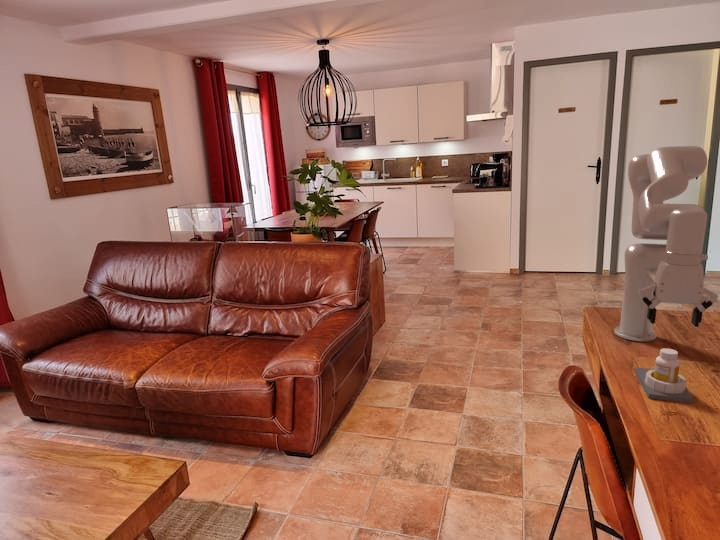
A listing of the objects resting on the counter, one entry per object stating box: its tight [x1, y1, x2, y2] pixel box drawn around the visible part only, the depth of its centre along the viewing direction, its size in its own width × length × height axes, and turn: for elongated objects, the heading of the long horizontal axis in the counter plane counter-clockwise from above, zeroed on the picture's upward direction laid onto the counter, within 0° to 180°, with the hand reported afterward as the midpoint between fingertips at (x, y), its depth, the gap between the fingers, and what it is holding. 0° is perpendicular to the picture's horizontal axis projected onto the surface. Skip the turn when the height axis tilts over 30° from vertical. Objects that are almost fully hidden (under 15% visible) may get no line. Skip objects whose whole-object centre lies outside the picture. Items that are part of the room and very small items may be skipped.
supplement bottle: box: [653, 347, 681, 383], centre depth 127 cm, size 5×5×10 cm
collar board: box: [634, 367, 695, 404], centre depth 130 cm, size 16×10×4 cm, turn 162°
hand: (672, 323), depth 125 cm, fingers open, 9 cm apart
